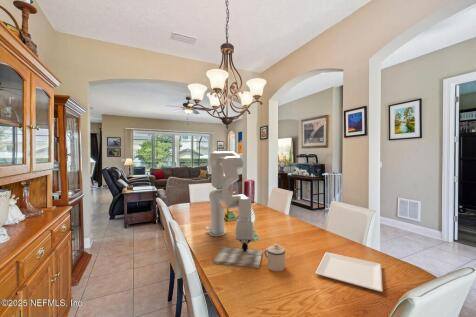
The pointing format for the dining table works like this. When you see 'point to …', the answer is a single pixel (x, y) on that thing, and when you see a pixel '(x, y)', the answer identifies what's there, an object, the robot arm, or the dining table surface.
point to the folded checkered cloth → (241, 251)
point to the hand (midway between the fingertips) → (244, 250)
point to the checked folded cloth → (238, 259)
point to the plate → (351, 271)
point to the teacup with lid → (275, 257)
